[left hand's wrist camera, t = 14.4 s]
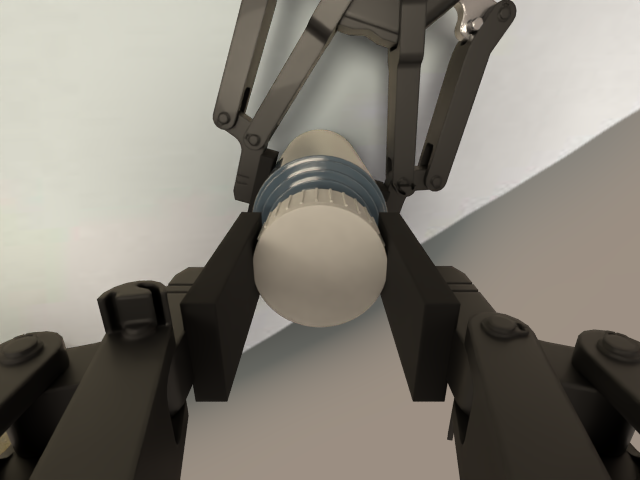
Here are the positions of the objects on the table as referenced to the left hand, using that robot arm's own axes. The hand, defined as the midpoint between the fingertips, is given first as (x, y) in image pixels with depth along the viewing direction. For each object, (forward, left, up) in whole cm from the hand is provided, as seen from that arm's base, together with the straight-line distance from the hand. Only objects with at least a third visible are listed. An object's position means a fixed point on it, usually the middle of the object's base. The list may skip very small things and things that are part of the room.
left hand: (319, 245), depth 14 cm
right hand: (-4, -3, -9) cm, 10 cm away
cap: (0, 0, +2) cm, 2 cm away
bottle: (0, 0, -15) cm, 15 cm away
